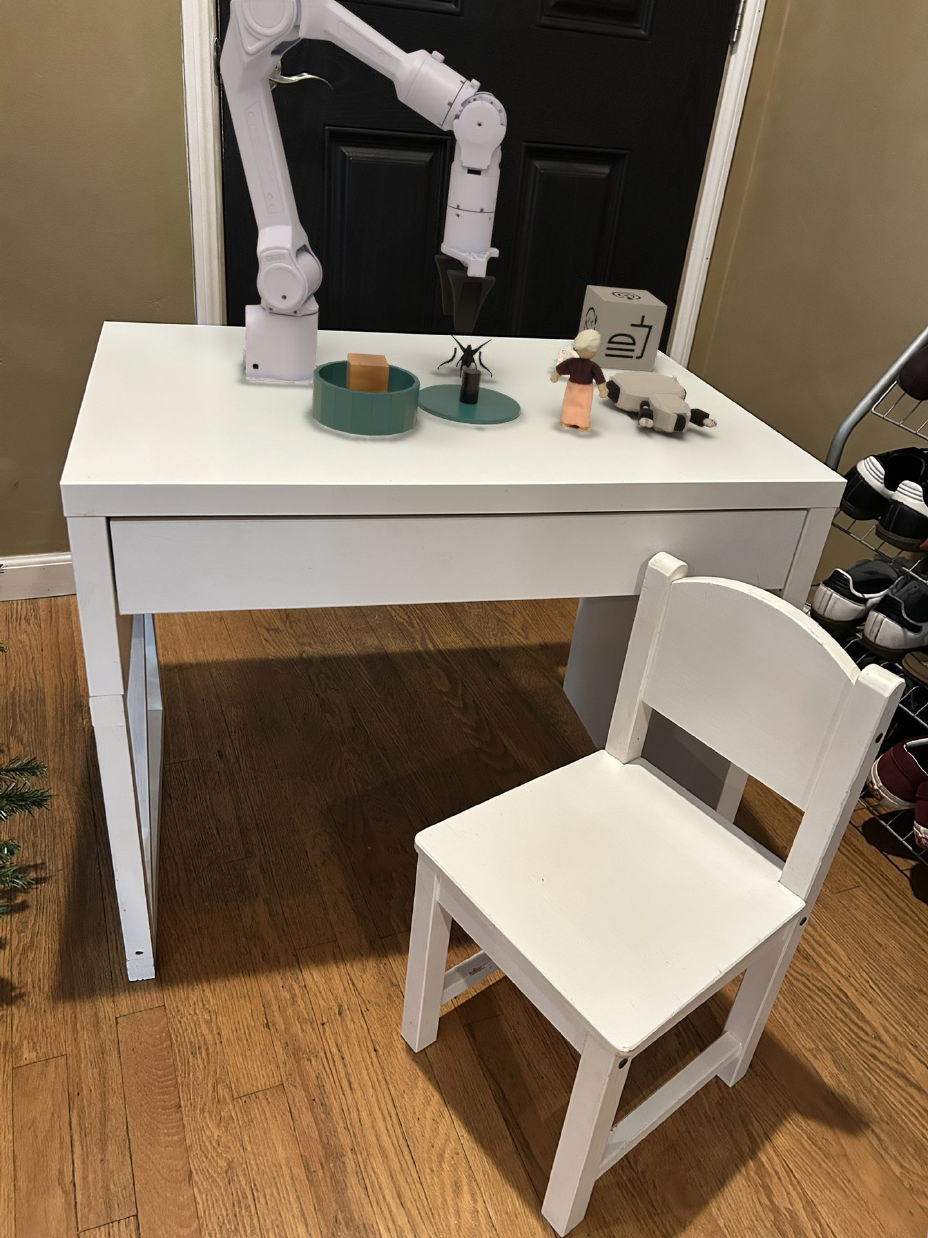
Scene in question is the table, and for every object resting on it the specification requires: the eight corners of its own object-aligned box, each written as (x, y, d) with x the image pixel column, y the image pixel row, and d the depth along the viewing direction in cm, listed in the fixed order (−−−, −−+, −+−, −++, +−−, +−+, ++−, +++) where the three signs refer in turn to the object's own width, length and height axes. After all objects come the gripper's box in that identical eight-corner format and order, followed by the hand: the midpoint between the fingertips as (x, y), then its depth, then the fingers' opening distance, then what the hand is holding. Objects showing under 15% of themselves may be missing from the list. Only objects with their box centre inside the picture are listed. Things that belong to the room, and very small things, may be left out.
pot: (315, 437, 107) (317, 390, 105) (309, 400, 118) (311, 356, 115) (422, 442, 110) (427, 396, 107) (407, 405, 121) (411, 363, 118)
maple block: (347, 422, 111) (351, 364, 108) (344, 409, 115) (347, 352, 112) (384, 424, 112) (389, 366, 109) (380, 411, 116) (384, 354, 112)
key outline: (541, 357, 147) (543, 346, 147) (571, 359, 149) (573, 348, 148) (564, 384, 137) (566, 372, 136) (596, 386, 138) (599, 374, 137)
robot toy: (717, 446, 124) (665, 399, 135) (727, 414, 121) (674, 368, 133) (634, 446, 120) (588, 397, 131) (643, 413, 117) (595, 366, 129)
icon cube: (652, 371, 148) (667, 306, 143) (592, 366, 146) (604, 300, 141) (633, 352, 157) (646, 290, 151) (575, 347, 155) (587, 285, 149)
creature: (489, 393, 132) (494, 365, 138) (493, 358, 129) (499, 331, 134) (434, 385, 132) (441, 357, 138) (437, 350, 129) (444, 323, 135)
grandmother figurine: (603, 431, 121) (623, 332, 115) (597, 440, 118) (617, 338, 111) (545, 418, 123) (562, 319, 116) (538, 427, 120) (555, 326, 113)
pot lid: (423, 426, 115) (427, 385, 112) (408, 389, 126) (411, 351, 124) (530, 430, 118) (537, 391, 115) (506, 394, 129) (511, 357, 127)
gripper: (518, 222, 108) (501, 341, 115) (490, 201, 120) (476, 310, 127) (457, 216, 106) (444, 337, 113) (435, 195, 118) (424, 306, 125)
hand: (457, 322), depth 120 cm, fingers open, 7 cm apart
